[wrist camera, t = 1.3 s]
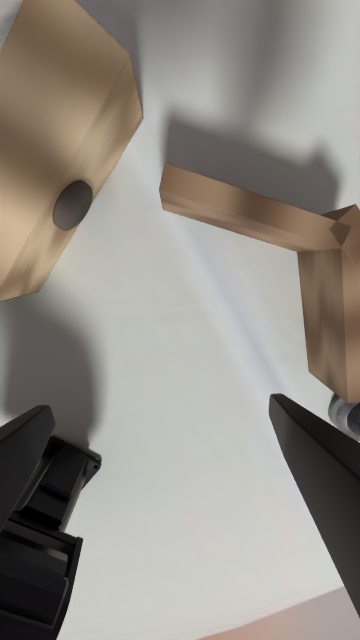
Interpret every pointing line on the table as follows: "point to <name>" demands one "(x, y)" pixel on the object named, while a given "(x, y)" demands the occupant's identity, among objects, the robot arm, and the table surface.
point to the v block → (313, 257)
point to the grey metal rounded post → (345, 416)
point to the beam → (56, 132)
